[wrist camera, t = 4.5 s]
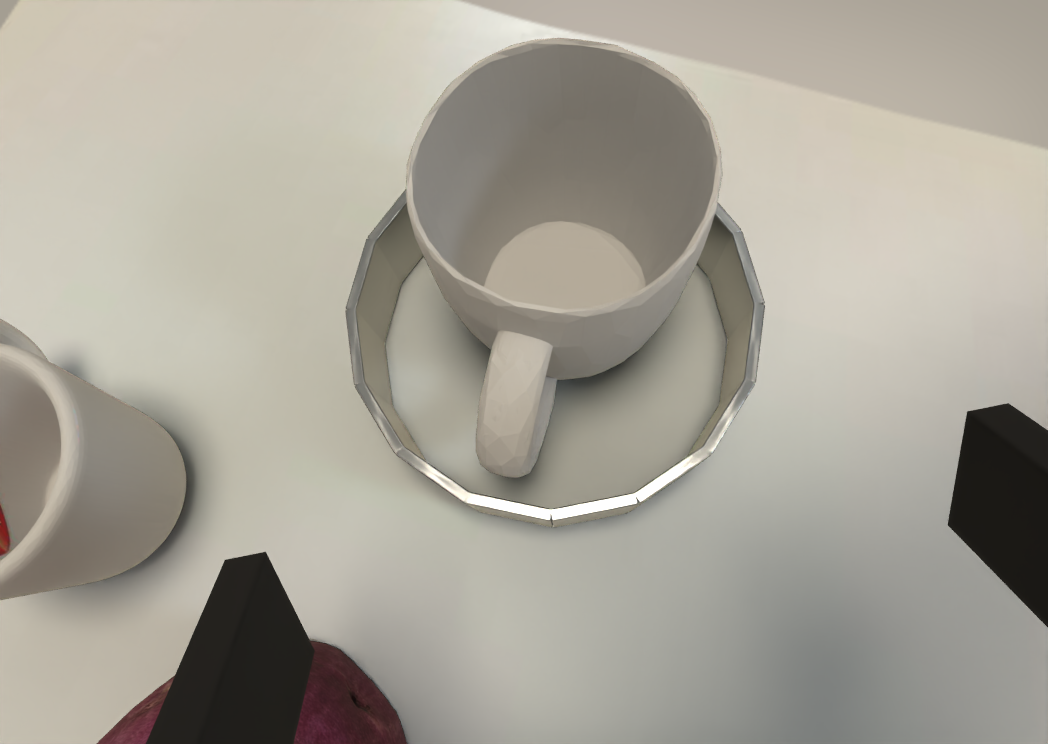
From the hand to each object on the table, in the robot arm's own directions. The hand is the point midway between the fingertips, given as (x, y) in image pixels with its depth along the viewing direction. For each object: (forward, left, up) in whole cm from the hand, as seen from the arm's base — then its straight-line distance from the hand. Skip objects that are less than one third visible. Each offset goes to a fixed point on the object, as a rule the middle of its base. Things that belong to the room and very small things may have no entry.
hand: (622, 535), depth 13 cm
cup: (+19, -7, -13) cm, 24 cm away
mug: (0, -8, -13) cm, 16 cm away
